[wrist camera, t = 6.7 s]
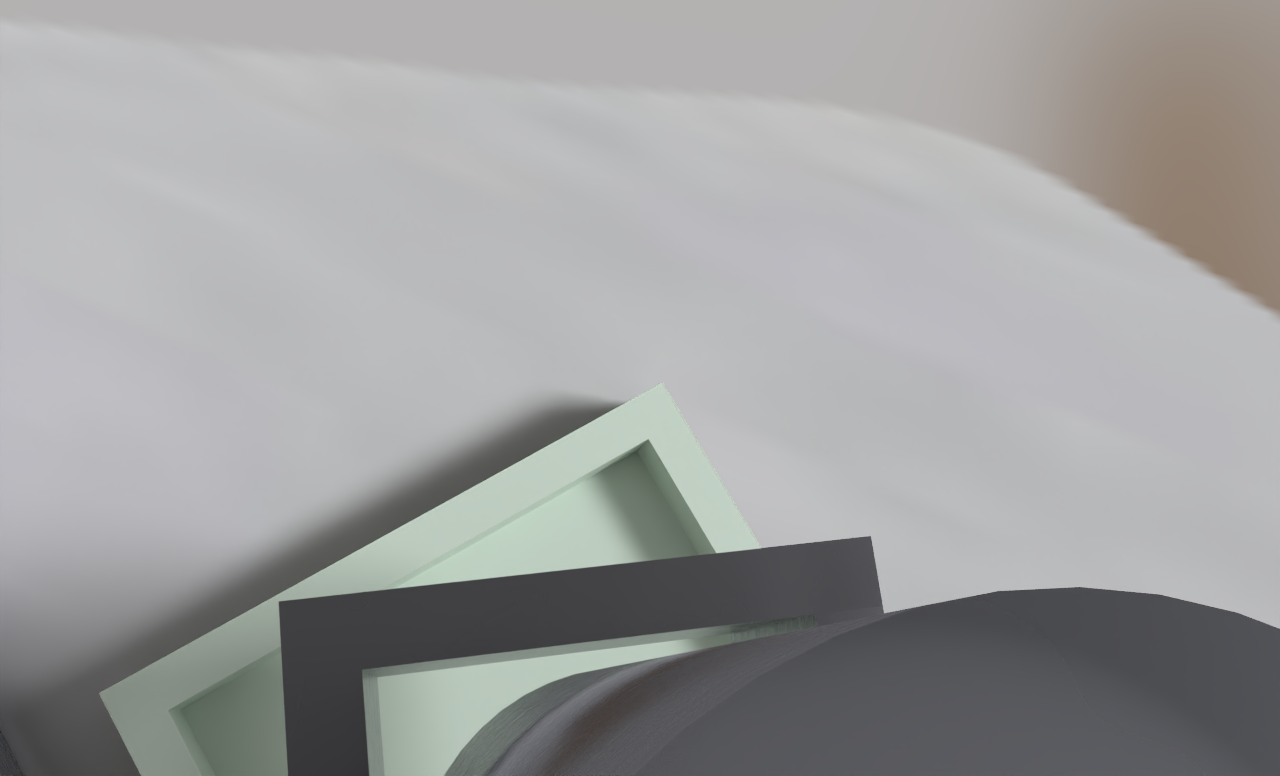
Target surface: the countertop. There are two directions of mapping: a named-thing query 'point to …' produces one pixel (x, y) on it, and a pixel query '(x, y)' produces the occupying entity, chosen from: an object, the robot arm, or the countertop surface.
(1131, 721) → the grey cylinder in socket
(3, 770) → the base
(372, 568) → the tray
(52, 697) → the countertop surface
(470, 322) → the countertop surface
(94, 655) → the countertop surface
